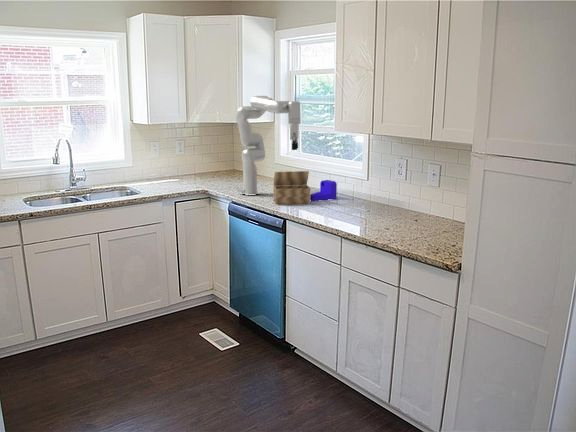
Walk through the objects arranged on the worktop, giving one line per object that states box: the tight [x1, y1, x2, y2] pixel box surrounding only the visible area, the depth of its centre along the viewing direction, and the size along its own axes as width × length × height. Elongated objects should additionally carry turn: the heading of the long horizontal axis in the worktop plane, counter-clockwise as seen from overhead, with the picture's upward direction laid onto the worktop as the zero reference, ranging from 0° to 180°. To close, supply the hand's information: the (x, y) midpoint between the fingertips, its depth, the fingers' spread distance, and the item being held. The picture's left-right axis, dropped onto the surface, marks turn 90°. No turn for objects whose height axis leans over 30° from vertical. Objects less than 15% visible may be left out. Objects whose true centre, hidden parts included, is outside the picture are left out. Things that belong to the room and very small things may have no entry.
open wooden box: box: [272, 184, 311, 205], centre depth 339 cm, size 22×12×10 cm, turn 99°
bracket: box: [310, 179, 338, 202], centre depth 349 cm, size 18×11×12 cm, turn 131°
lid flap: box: [272, 170, 310, 186], centre depth 339 cm, size 22×12×1 cm
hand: (295, 149), depth 331 cm, fingers open, 9 cm apart
